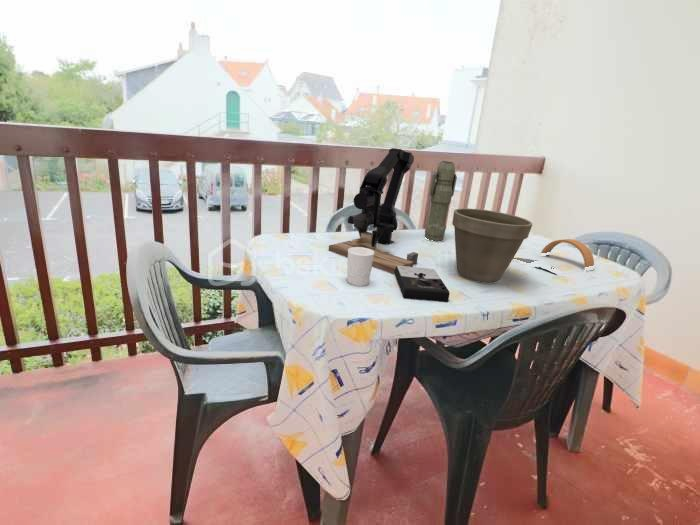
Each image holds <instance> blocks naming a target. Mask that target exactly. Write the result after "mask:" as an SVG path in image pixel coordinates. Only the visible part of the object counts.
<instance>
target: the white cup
mask: <svg viewBox="0 0 700 525" xmlns="http://www.w3.org/2000/svg"><path fill="white" fill-rule="evenodd" d="M373 258H374V251H373V250H371V249H368V248H363V247H352V248H349V249H348V257H347V263H346V264H347V265H346V266H347V268H346V271H347V273H346V274H347V276H346V281H347V283H349V284H350V285H353V286H355V287H356V286H357V287H359V286H360V287H364V286H367V285H369V284H370V283H369V282H370V277H371V275H372V274H371V273H372V268H373V267H372V263H373Z"/></svg>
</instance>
